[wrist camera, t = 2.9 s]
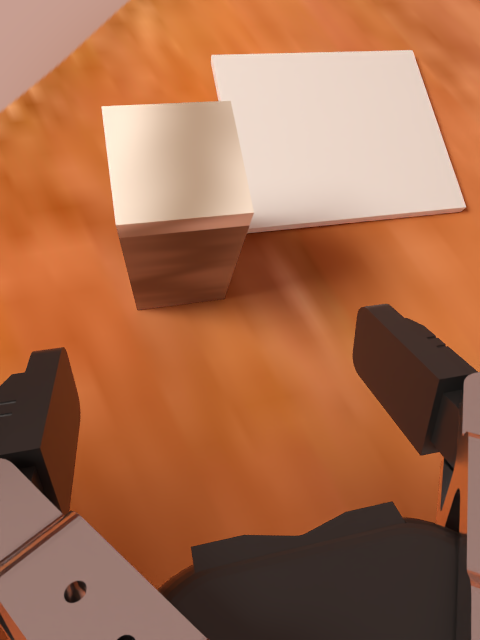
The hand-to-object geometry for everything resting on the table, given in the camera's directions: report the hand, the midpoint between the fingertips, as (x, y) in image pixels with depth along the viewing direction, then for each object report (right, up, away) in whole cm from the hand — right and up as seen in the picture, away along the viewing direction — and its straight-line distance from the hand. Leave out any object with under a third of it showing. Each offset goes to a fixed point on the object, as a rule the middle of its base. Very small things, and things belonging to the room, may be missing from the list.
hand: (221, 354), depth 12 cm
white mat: (+7, +13, +18) cm, 24 cm away
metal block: (-3, +4, +14) cm, 15 cm away
